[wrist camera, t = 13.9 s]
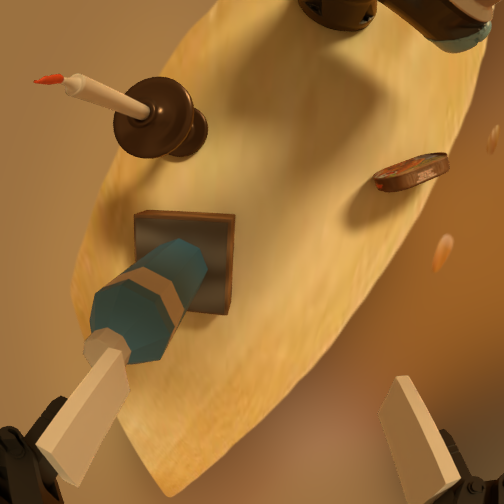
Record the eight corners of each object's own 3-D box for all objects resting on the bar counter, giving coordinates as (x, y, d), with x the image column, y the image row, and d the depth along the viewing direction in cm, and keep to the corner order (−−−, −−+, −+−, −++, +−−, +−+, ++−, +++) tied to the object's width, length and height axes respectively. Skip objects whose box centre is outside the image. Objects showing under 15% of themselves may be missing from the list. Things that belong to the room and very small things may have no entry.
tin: (430, 151, 43) (455, 150, 35) (435, 167, 44) (460, 168, 35) (365, 175, 45) (384, 176, 37) (371, 192, 46) (390, 196, 38)
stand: (147, 210, 48) (132, 214, 42) (235, 214, 48) (231, 220, 42) (149, 292, 53) (137, 305, 47) (231, 301, 52) (227, 316, 46)
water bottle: (207, 296, 46) (158, 407, 21) (153, 290, 46) (74, 384, 22) (208, 240, 43) (144, 319, 19) (151, 236, 43) (50, 301, 19)
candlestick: (206, 166, 46) (77, 155, 12) (148, 158, 46) (-19, 153, 12) (219, 105, 43) (129, -14, 9) (160, 99, 43) (17, 21, 9)
